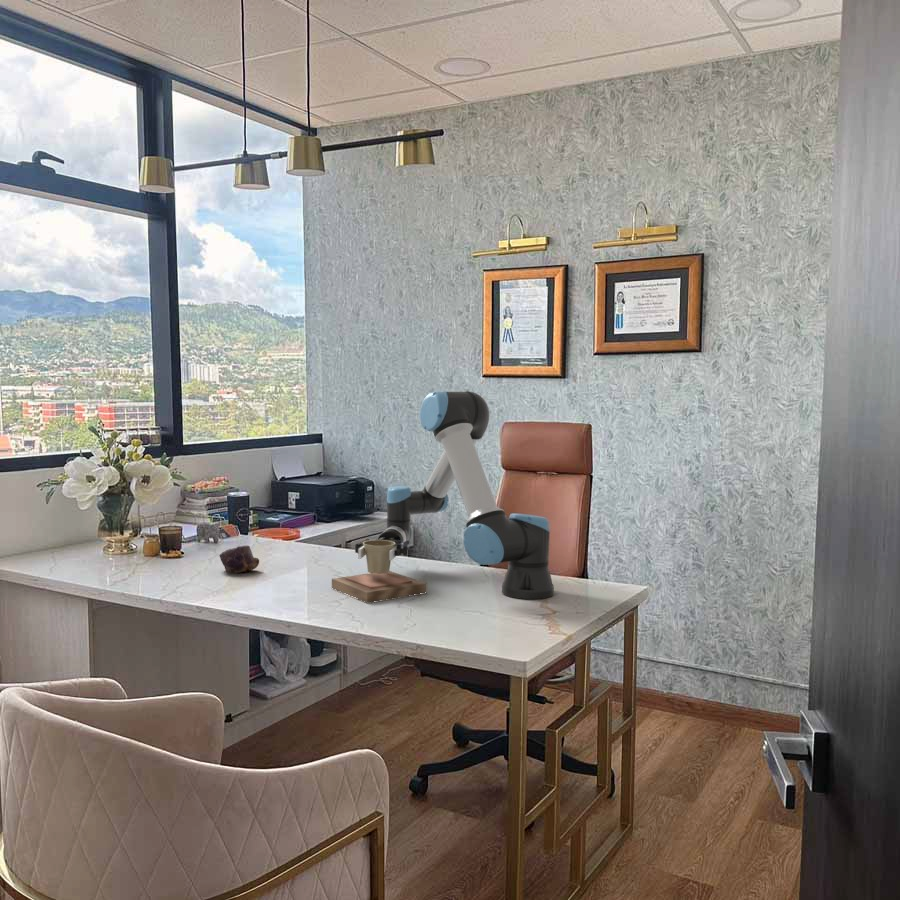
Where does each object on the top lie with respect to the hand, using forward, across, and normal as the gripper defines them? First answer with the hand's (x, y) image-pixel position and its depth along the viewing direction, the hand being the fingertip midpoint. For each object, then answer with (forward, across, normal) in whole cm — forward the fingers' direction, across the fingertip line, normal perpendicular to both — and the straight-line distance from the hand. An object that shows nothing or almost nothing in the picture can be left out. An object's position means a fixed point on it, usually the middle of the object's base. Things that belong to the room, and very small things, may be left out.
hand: (375, 554), depth 239 cm
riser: (-5, 0, -12) cm, 12 cm away
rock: (-20, +50, -12) cm, 55 cm away
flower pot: (-5, 0, -6) cm, 8 cm away
